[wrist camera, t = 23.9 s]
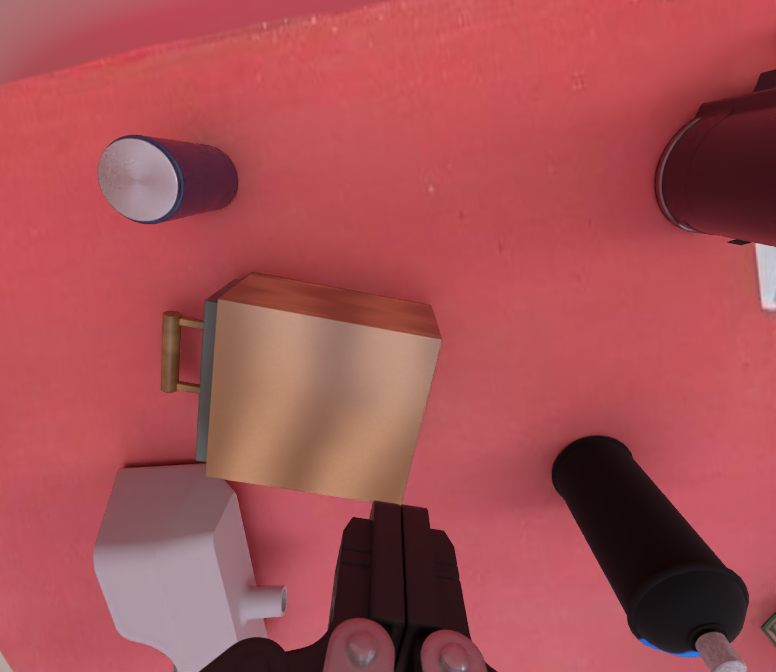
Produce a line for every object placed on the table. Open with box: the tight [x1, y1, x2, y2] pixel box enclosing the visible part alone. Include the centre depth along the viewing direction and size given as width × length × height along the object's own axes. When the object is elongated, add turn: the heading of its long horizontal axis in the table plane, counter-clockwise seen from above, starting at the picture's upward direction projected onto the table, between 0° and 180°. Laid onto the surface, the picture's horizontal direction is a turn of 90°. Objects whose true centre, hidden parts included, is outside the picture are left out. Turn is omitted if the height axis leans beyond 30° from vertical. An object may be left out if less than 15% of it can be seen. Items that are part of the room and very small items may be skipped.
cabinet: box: [205, 272, 442, 505], centre depth 38 cm, size 16×15×9 cm
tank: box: [93, 463, 287, 672], centre depth 44 cm, size 25×16×12 cm, turn 4°
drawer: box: [161, 279, 242, 462], centre depth 38 cm, size 20×14×7 cm
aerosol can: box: [552, 436, 749, 672], centre depth 37 cm, size 8×8×20 cm
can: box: [97, 135, 238, 224], centre depth 32 cm, size 5×5×11 cm
